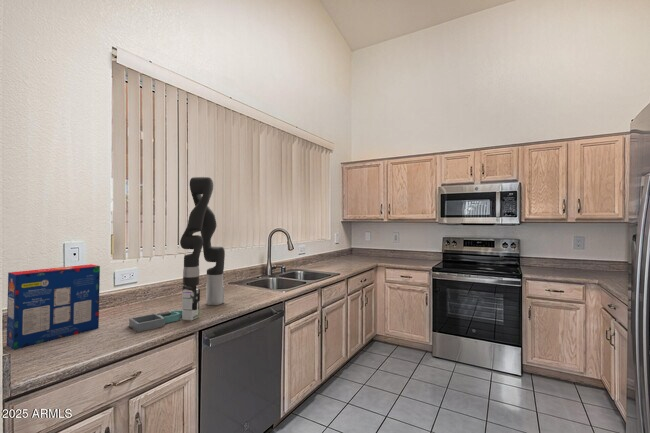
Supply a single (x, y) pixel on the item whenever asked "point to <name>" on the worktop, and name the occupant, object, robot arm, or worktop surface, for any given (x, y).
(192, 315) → the syrup box
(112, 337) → the worktop surface
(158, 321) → the holder
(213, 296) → the robot arm
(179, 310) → the clip
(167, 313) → the tall charcoal prism
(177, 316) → the clip
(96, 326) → the blue toy box
